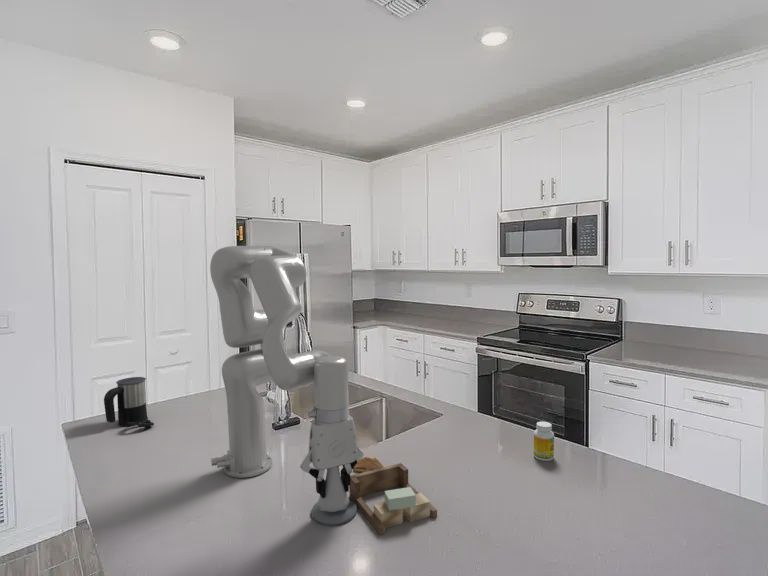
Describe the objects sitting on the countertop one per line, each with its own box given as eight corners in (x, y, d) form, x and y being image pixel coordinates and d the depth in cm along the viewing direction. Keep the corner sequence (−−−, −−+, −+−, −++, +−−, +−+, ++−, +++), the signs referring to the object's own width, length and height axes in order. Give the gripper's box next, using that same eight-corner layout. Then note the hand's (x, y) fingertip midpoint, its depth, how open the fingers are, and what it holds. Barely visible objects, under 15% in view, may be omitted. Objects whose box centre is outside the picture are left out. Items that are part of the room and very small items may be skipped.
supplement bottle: (534, 451, 130) (535, 419, 129) (554, 454, 127) (555, 422, 127) (532, 459, 125) (532, 425, 124) (553, 463, 123) (553, 428, 122)
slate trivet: (320, 530, 94) (320, 527, 94) (306, 506, 103) (306, 503, 103) (363, 517, 98) (363, 514, 98) (346, 495, 107) (346, 492, 107)
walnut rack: (379, 534, 92) (379, 511, 92) (349, 496, 107) (349, 475, 107) (437, 516, 99) (437, 494, 98) (401, 482, 113) (400, 463, 113)
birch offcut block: (410, 522, 97) (410, 507, 96) (401, 513, 100) (401, 498, 100) (430, 516, 99) (430, 501, 99) (420, 507, 102) (420, 492, 102)
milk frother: (131, 416, 162) (128, 376, 161) (171, 417, 160) (168, 377, 159) (100, 431, 148) (97, 388, 147) (144, 434, 146) (141, 389, 145)
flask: (318, 496, 104) (317, 454, 103) (349, 494, 105) (349, 452, 104) (316, 514, 97) (315, 469, 96) (349, 512, 97) (349, 468, 96)
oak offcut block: (381, 530, 94) (381, 514, 94) (373, 520, 98) (373, 504, 98) (402, 523, 96) (402, 507, 96) (394, 513, 100) (393, 498, 100)
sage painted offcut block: (389, 510, 95) (388, 499, 95) (384, 501, 99) (384, 491, 98) (415, 506, 97) (415, 495, 97) (410, 497, 100) (410, 487, 100)
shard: (389, 479, 116) (389, 472, 116) (361, 485, 113) (361, 478, 113) (375, 461, 126) (375, 455, 126) (349, 466, 123) (348, 460, 123)
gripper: (298, 425, 92) (300, 510, 93) (373, 411, 99) (374, 490, 101) (289, 413, 98) (291, 493, 100) (360, 401, 106) (361, 475, 108)
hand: (333, 491), depth 100 cm, fingers closed on flask, 4 cm apart
